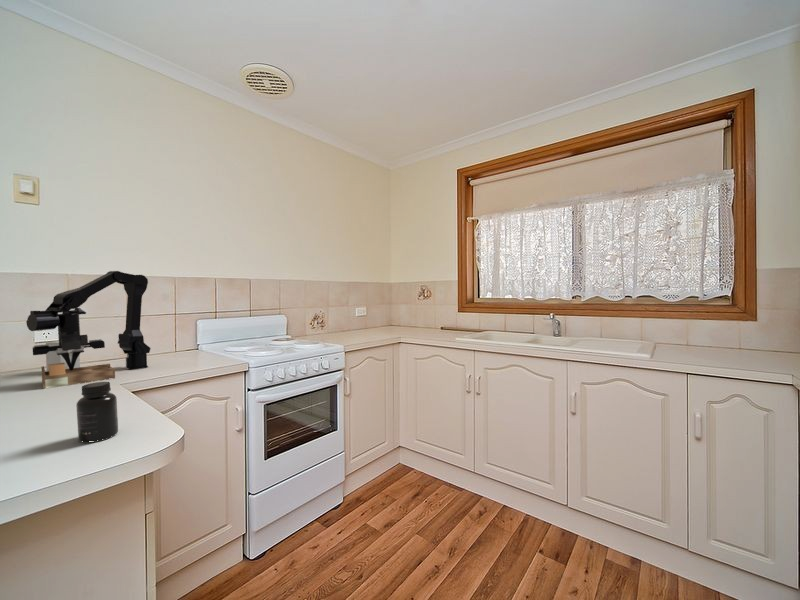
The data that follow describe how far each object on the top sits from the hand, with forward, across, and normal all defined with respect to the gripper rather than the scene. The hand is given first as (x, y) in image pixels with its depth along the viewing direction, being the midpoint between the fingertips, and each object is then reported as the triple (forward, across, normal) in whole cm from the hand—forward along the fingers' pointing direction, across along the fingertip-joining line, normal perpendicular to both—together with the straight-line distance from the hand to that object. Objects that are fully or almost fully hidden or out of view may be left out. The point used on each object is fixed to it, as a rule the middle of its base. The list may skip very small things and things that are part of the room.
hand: (71, 370), depth 127 cm
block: (+1, -4, 0) cm, 4 cm away
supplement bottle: (+4, 0, -71) cm, 71 cm away
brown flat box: (+4, +2, 0) cm, 5 cm away
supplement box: (+4, -1, +24) cm, 24 cm away
